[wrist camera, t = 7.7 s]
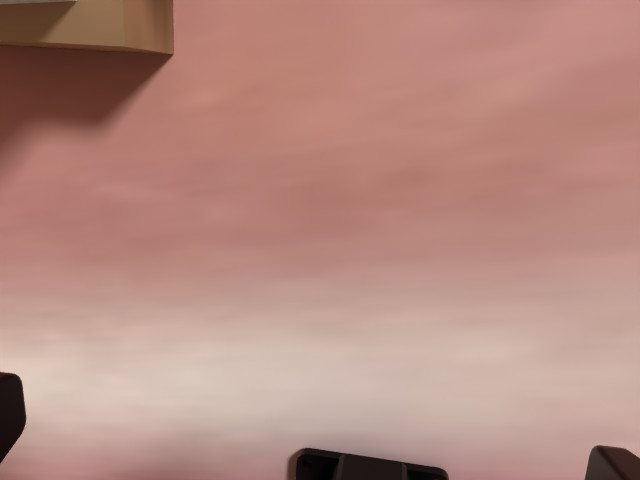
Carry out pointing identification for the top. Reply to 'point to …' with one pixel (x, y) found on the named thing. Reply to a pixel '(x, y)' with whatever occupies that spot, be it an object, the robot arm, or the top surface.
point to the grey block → (30, 1)
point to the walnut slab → (90, 25)
